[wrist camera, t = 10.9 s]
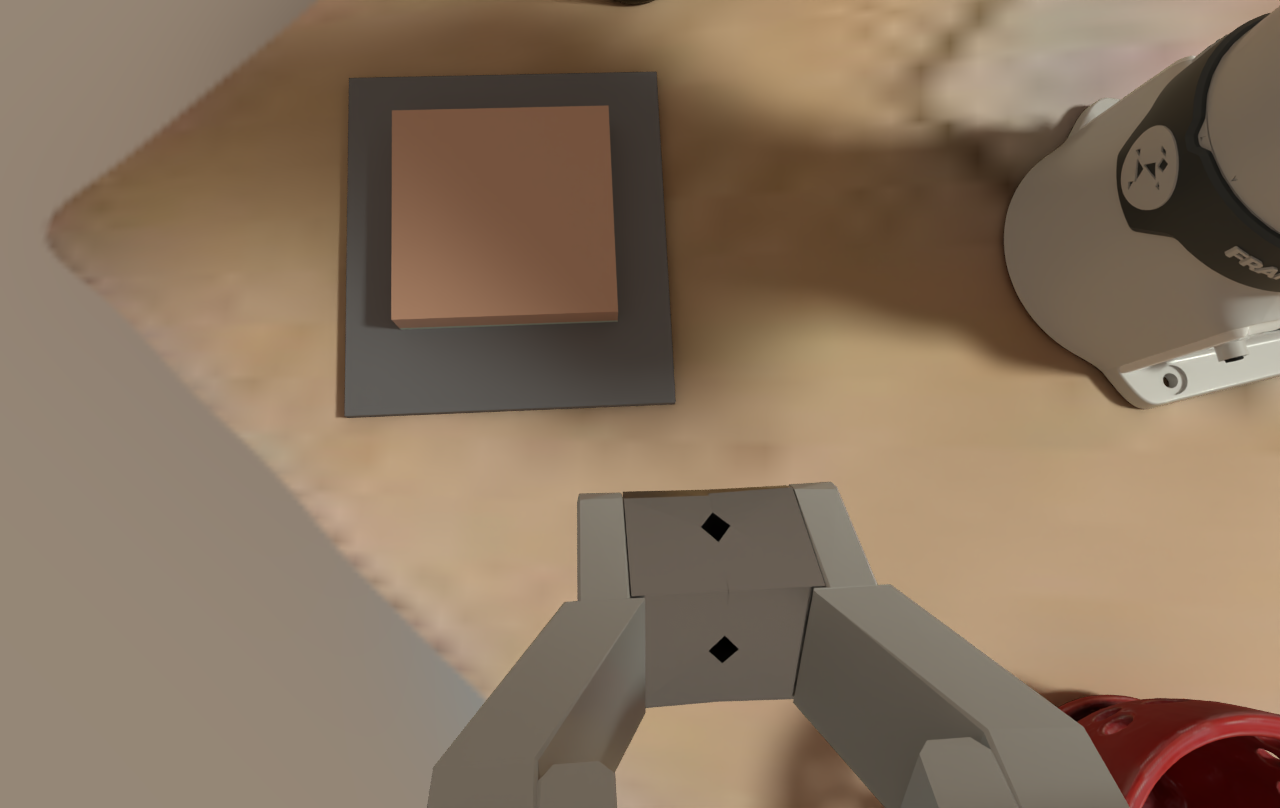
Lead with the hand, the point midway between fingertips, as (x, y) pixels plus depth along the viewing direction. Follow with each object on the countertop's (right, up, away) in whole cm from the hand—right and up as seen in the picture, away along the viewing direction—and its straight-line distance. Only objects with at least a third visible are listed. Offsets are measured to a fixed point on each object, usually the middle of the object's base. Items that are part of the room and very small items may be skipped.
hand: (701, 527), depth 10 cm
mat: (-8, +11, +36) cm, 39 cm away
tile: (-8, +6, +34) cm, 35 cm away
